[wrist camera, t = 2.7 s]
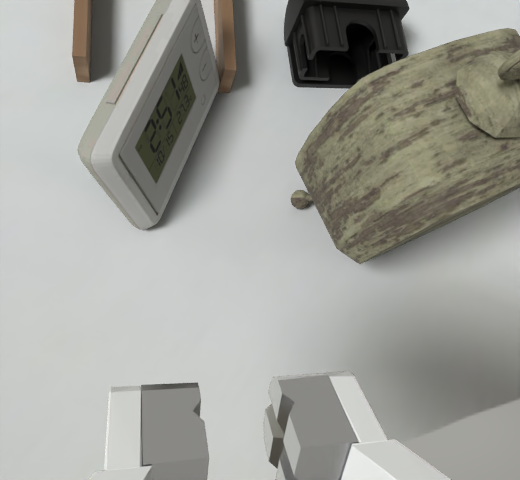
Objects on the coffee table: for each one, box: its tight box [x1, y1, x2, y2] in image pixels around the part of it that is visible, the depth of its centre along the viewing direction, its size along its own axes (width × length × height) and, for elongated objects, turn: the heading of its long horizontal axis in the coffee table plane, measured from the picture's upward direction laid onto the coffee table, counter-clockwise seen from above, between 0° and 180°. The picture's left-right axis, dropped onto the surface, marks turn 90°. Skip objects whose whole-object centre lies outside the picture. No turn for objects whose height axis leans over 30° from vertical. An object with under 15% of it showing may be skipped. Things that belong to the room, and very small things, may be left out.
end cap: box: [284, 0, 409, 88], centre depth 46 cm, size 10×7×7 cm
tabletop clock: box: [291, 28, 520, 264], centre depth 33 cm, size 14×9×25 cm, turn 116°
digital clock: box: [78, 0, 220, 230], centre depth 37 cm, size 16×9×11 cm, turn 149°
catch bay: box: [72, 0, 237, 93], centre depth 43 cm, size 18×14×5 cm
